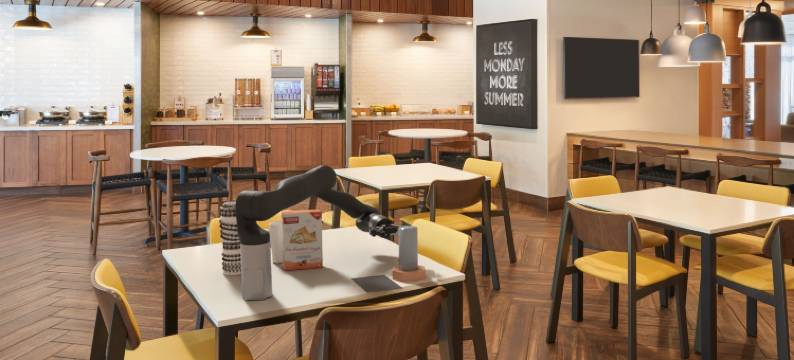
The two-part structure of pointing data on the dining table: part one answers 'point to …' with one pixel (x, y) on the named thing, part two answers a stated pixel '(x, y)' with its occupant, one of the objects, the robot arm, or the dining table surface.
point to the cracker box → (302, 239)
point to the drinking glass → (276, 241)
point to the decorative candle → (230, 240)
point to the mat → (376, 283)
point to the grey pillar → (408, 248)
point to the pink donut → (409, 274)
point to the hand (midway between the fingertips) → (396, 234)
